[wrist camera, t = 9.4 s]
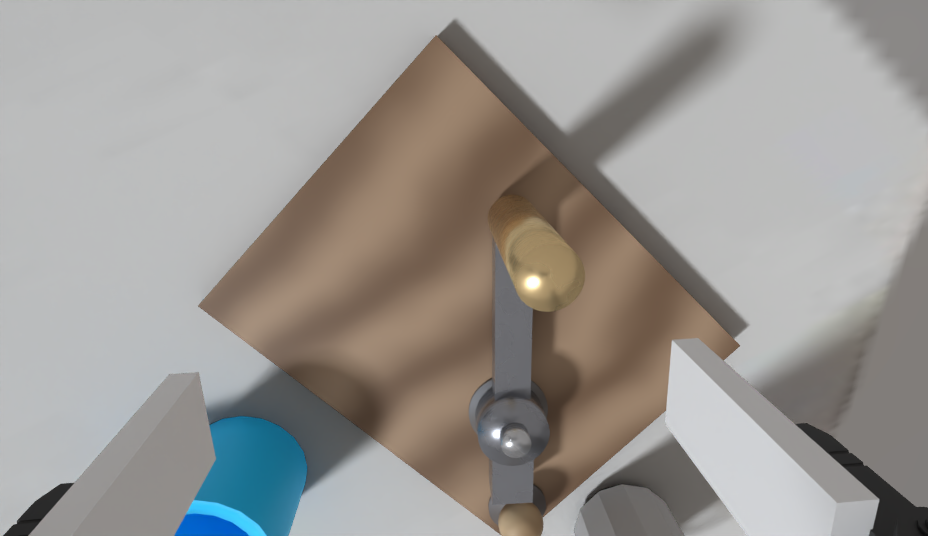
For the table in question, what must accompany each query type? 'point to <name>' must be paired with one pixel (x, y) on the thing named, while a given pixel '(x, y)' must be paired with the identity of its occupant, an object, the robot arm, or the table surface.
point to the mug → (248, 482)
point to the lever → (520, 340)
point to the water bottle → (626, 514)
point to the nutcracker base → (456, 294)
